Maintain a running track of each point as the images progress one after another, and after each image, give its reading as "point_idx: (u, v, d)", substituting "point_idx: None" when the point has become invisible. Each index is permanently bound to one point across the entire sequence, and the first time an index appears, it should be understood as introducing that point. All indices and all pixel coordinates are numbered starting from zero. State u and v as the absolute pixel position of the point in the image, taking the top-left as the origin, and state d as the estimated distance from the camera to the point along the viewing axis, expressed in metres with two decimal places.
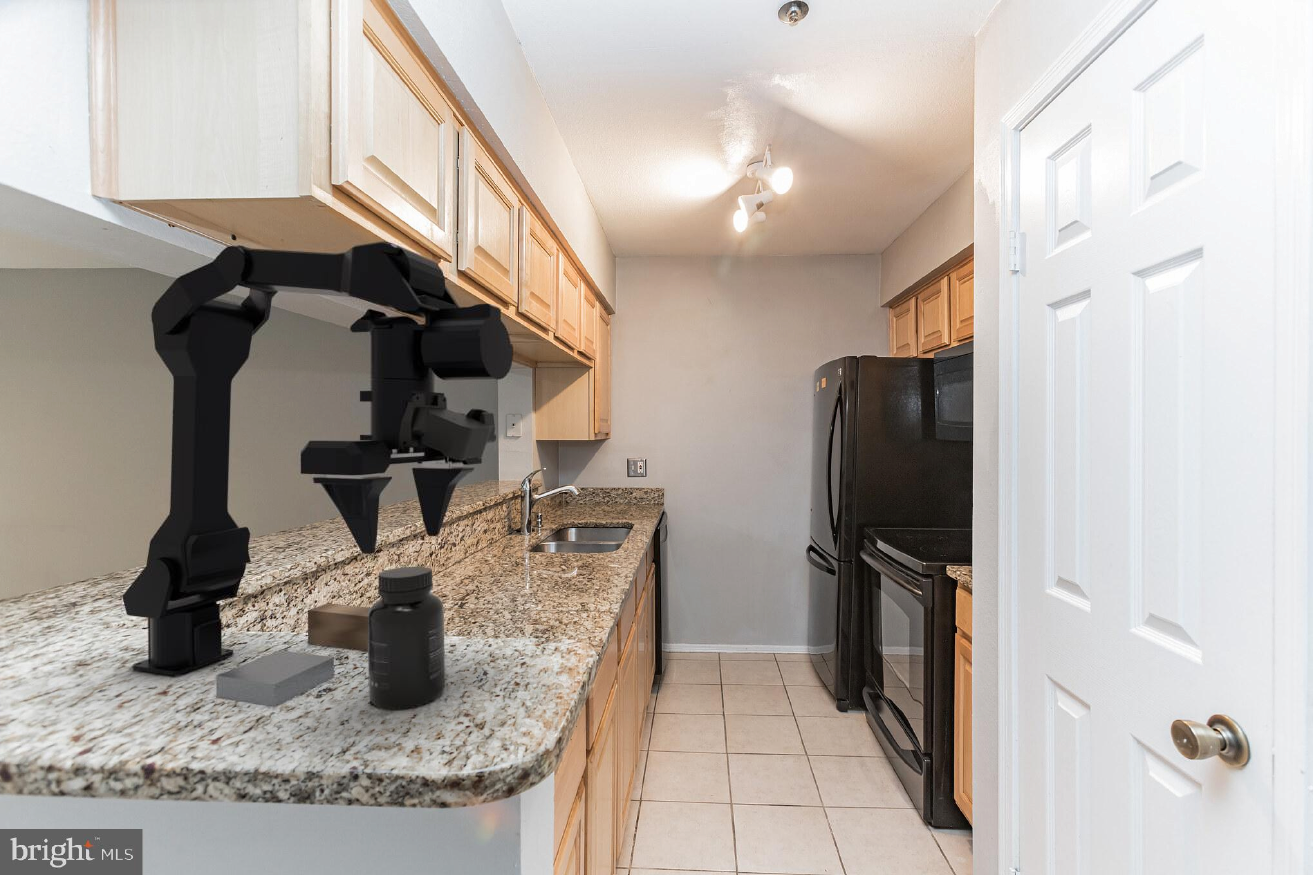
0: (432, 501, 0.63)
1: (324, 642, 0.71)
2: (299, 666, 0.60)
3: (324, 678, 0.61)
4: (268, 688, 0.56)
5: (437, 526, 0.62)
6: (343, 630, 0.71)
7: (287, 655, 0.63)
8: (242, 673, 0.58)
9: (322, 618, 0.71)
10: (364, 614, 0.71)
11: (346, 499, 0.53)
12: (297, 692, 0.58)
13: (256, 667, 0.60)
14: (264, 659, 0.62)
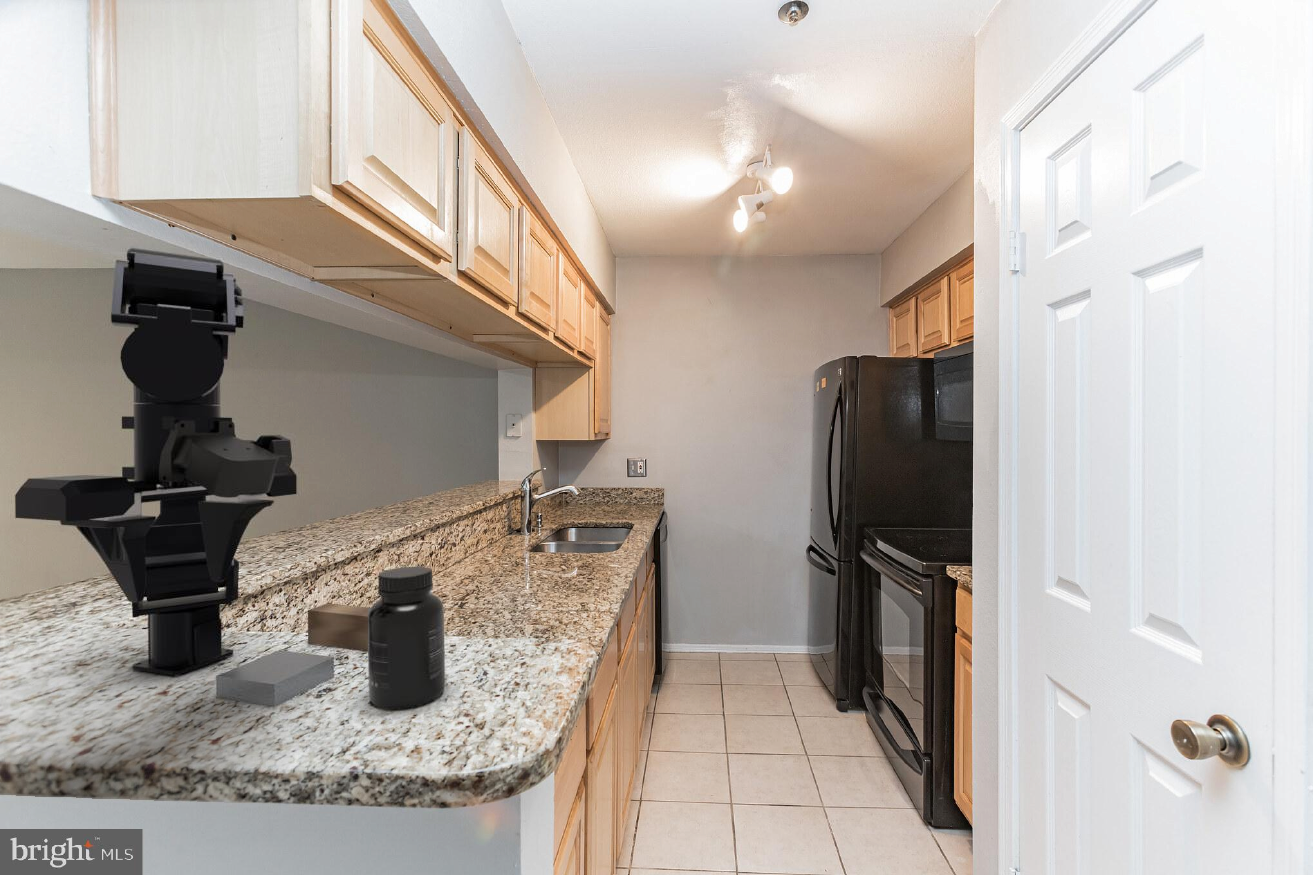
0: (217, 541, 0.54)
1: (324, 642, 0.71)
2: (299, 666, 0.60)
3: (324, 678, 0.61)
4: (268, 688, 0.56)
5: (221, 570, 0.54)
6: (343, 630, 0.71)
7: (287, 655, 0.63)
8: (242, 674, 0.58)
9: (322, 618, 0.71)
10: (364, 614, 0.71)
11: (105, 541, 0.46)
12: (297, 692, 0.58)
13: (256, 667, 0.60)
14: (264, 659, 0.62)
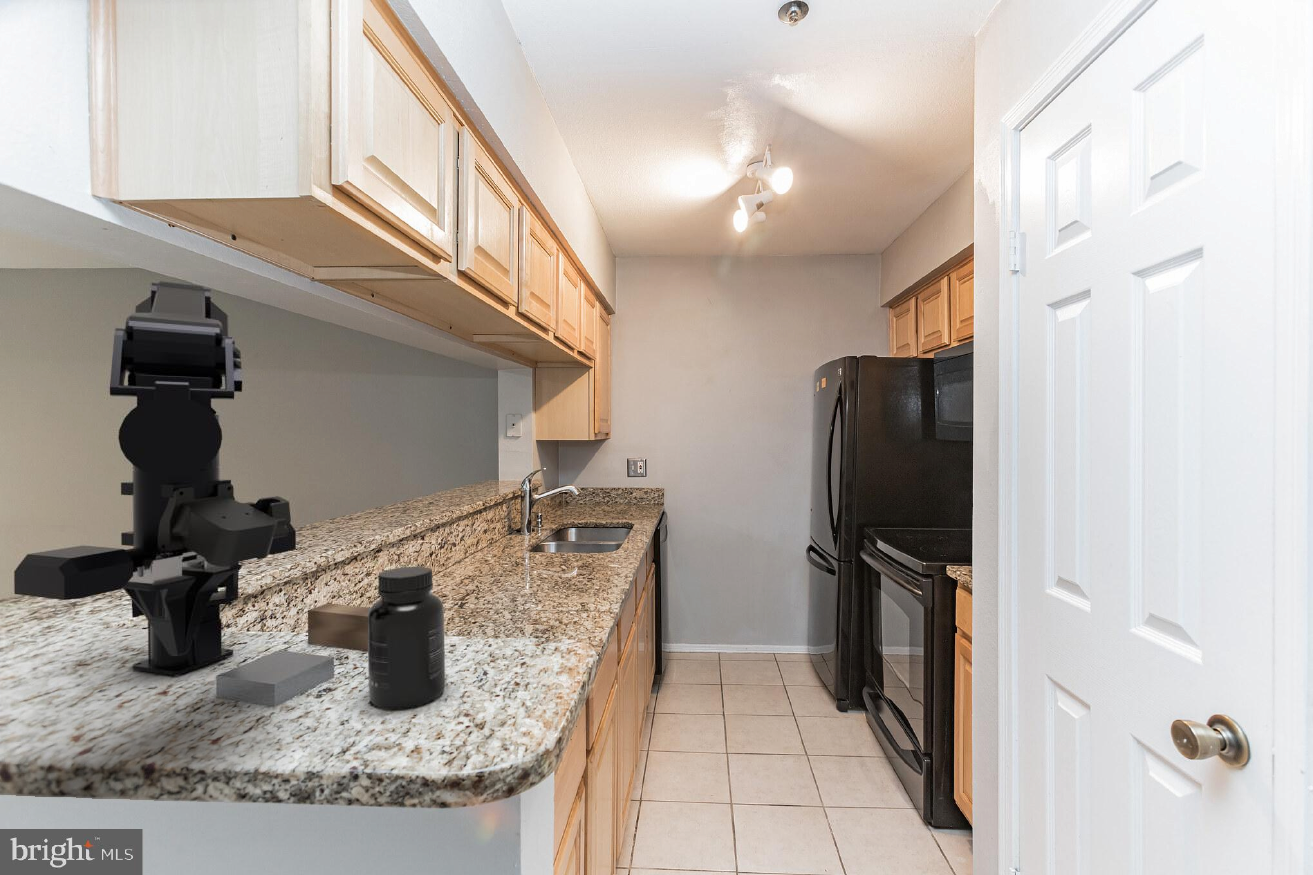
0: None
1: (324, 642, 0.71)
2: (299, 666, 0.60)
3: (324, 678, 0.61)
4: (268, 688, 0.56)
5: (184, 642, 0.51)
6: (343, 630, 0.71)
7: (287, 655, 0.63)
8: (242, 673, 0.58)
9: (322, 618, 0.71)
10: (364, 614, 0.71)
11: (148, 600, 0.50)
12: (297, 692, 0.58)
13: (256, 667, 0.60)
14: (264, 659, 0.62)
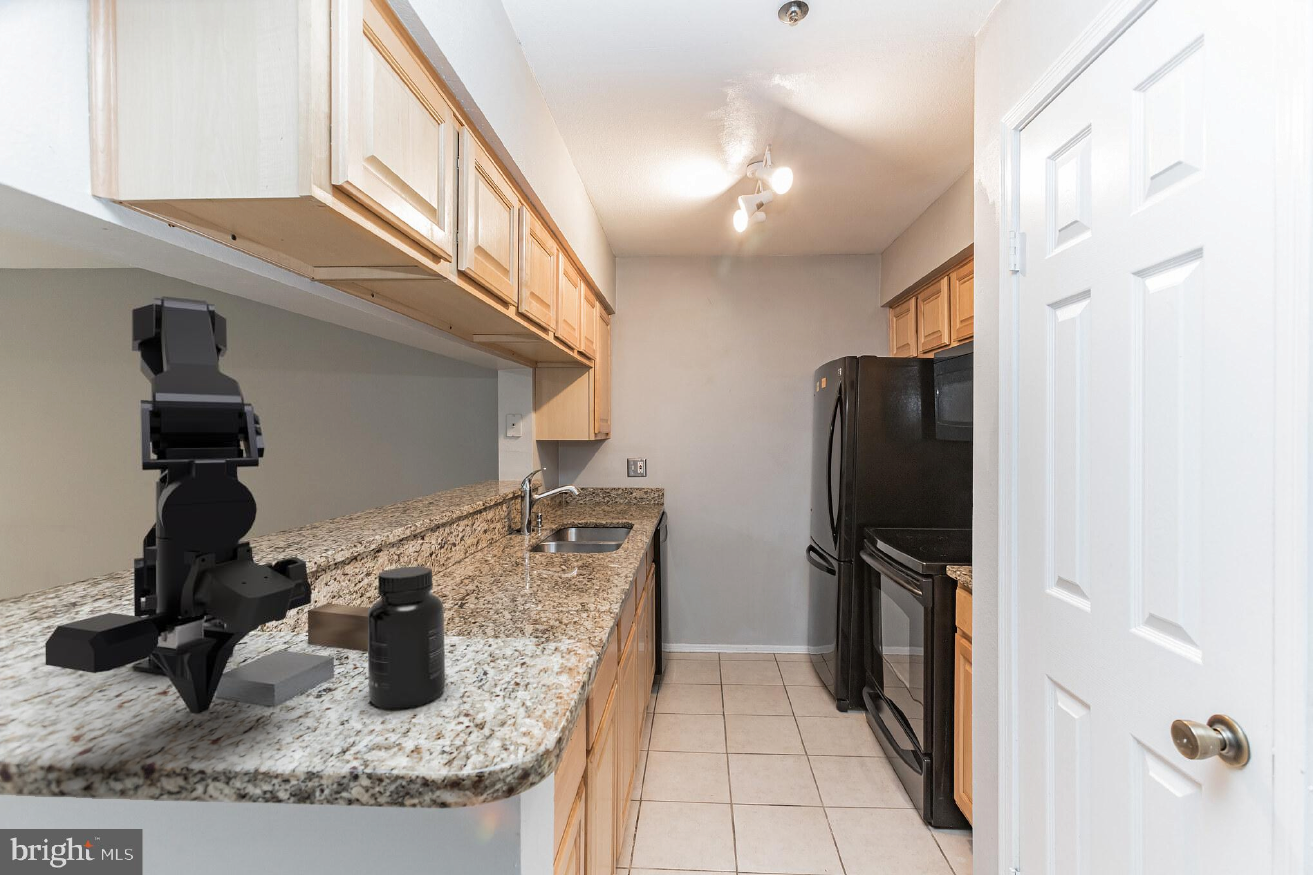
0: None
1: (324, 642, 0.71)
2: (299, 666, 0.60)
3: (324, 678, 0.61)
4: (268, 688, 0.56)
5: (205, 700, 0.53)
6: (343, 630, 0.71)
7: (287, 655, 0.63)
8: (242, 674, 0.58)
9: (322, 618, 0.71)
10: (364, 614, 0.71)
11: (171, 661, 0.51)
12: (297, 692, 0.58)
13: (256, 667, 0.60)
14: (264, 659, 0.62)
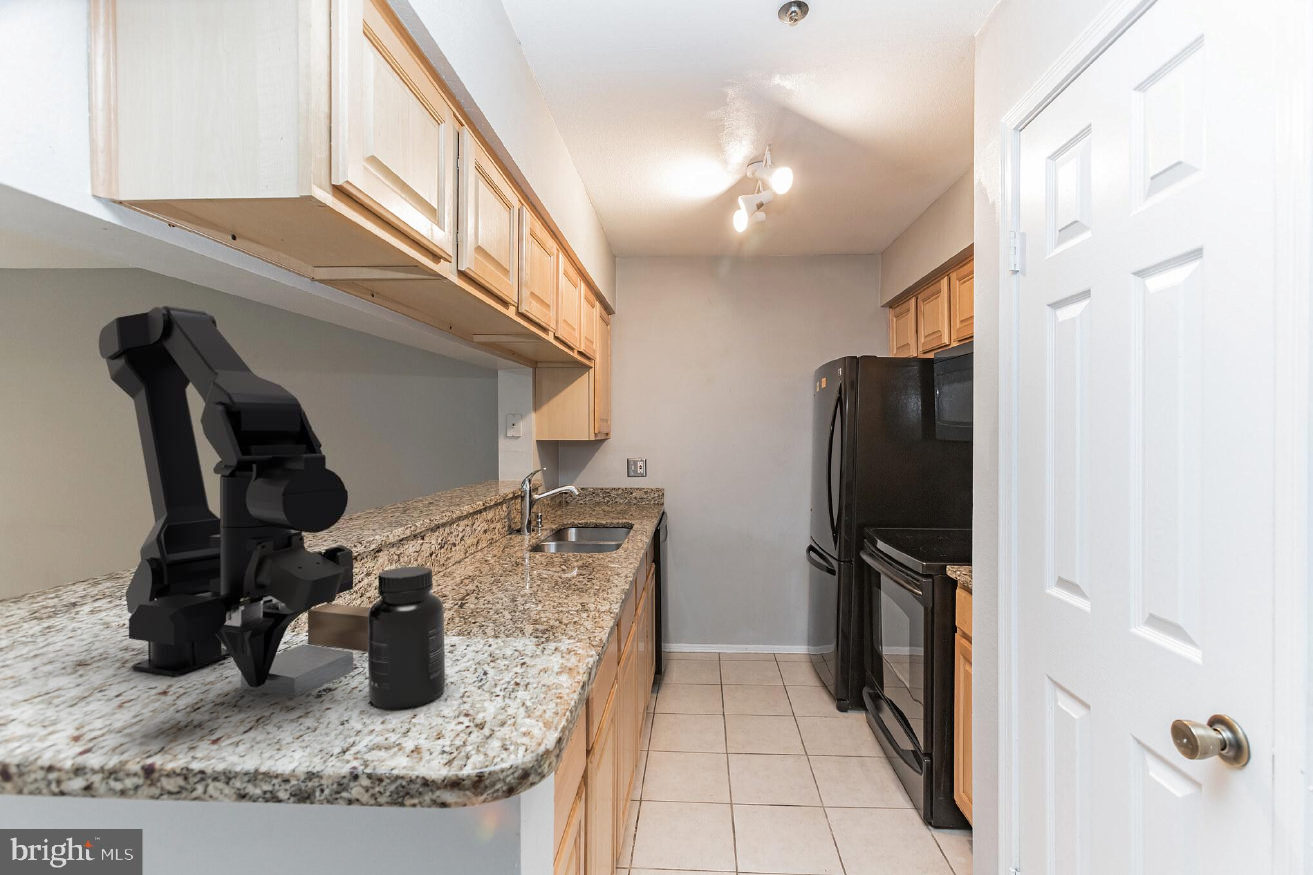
0: None
1: (324, 642, 0.71)
2: (319, 661, 0.62)
3: (343, 672, 0.63)
4: (289, 681, 0.58)
5: (262, 675, 0.58)
6: (343, 630, 0.71)
7: (309, 649, 0.65)
8: None
9: (322, 618, 0.71)
10: (364, 614, 0.71)
11: (232, 638, 0.57)
12: (317, 686, 0.60)
13: (279, 661, 0.62)
14: (287, 653, 0.64)
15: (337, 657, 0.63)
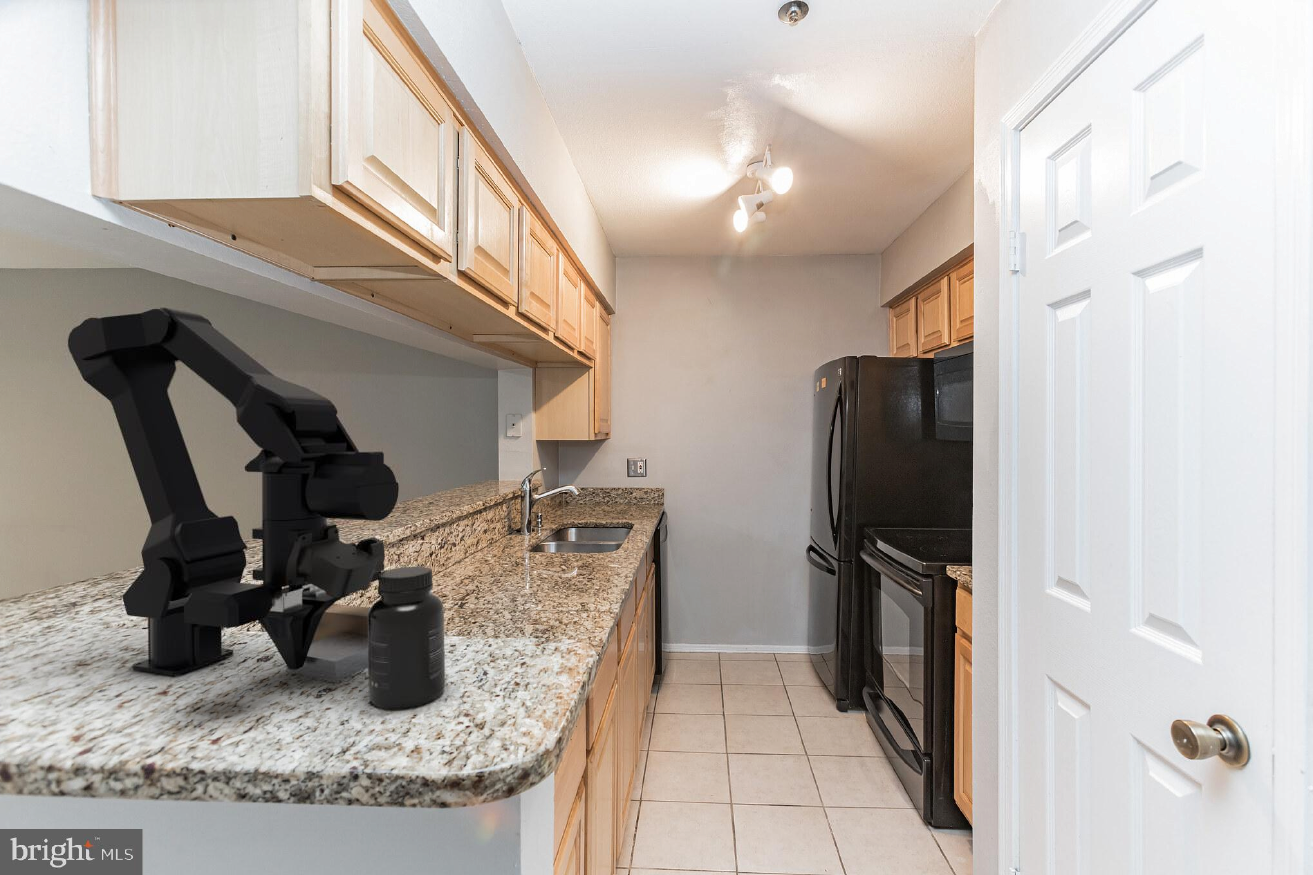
0: None
1: None
2: (358, 647, 0.65)
3: None
4: (330, 664, 0.62)
5: (301, 658, 0.62)
6: (343, 630, 0.71)
7: (349, 636, 0.69)
8: None
9: (322, 618, 0.71)
10: (364, 614, 0.71)
11: (273, 624, 0.61)
12: (355, 670, 0.64)
13: (321, 646, 0.66)
14: (328, 639, 0.68)
15: None
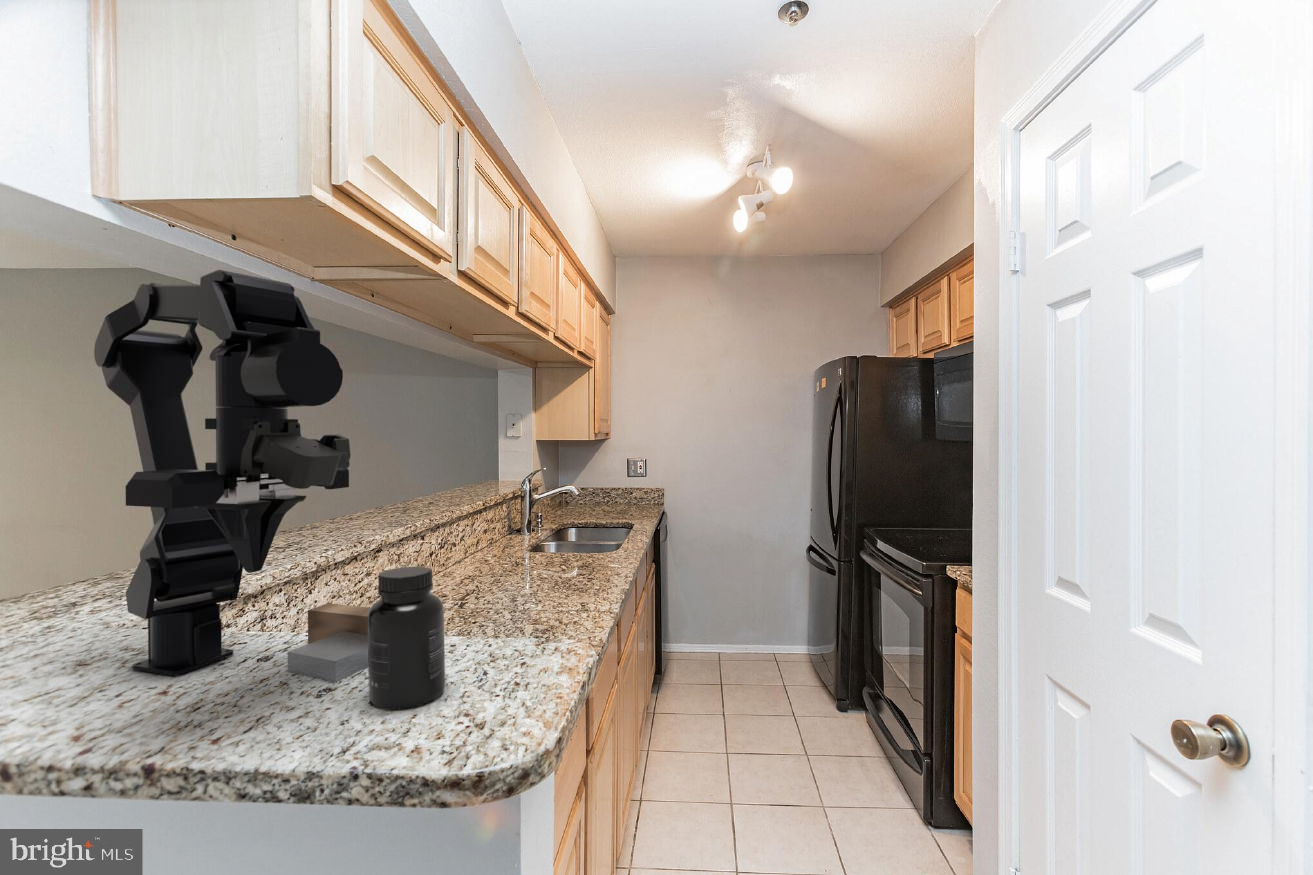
0: None
1: None
2: (358, 646, 0.65)
3: None
4: (331, 664, 0.62)
5: (259, 560, 0.58)
6: (343, 630, 0.71)
7: (349, 636, 0.69)
8: (309, 650, 0.64)
9: (322, 618, 0.71)
10: (364, 614, 0.71)
11: (229, 522, 0.57)
12: (356, 669, 0.64)
13: (322, 645, 0.66)
14: (329, 639, 0.68)
15: None
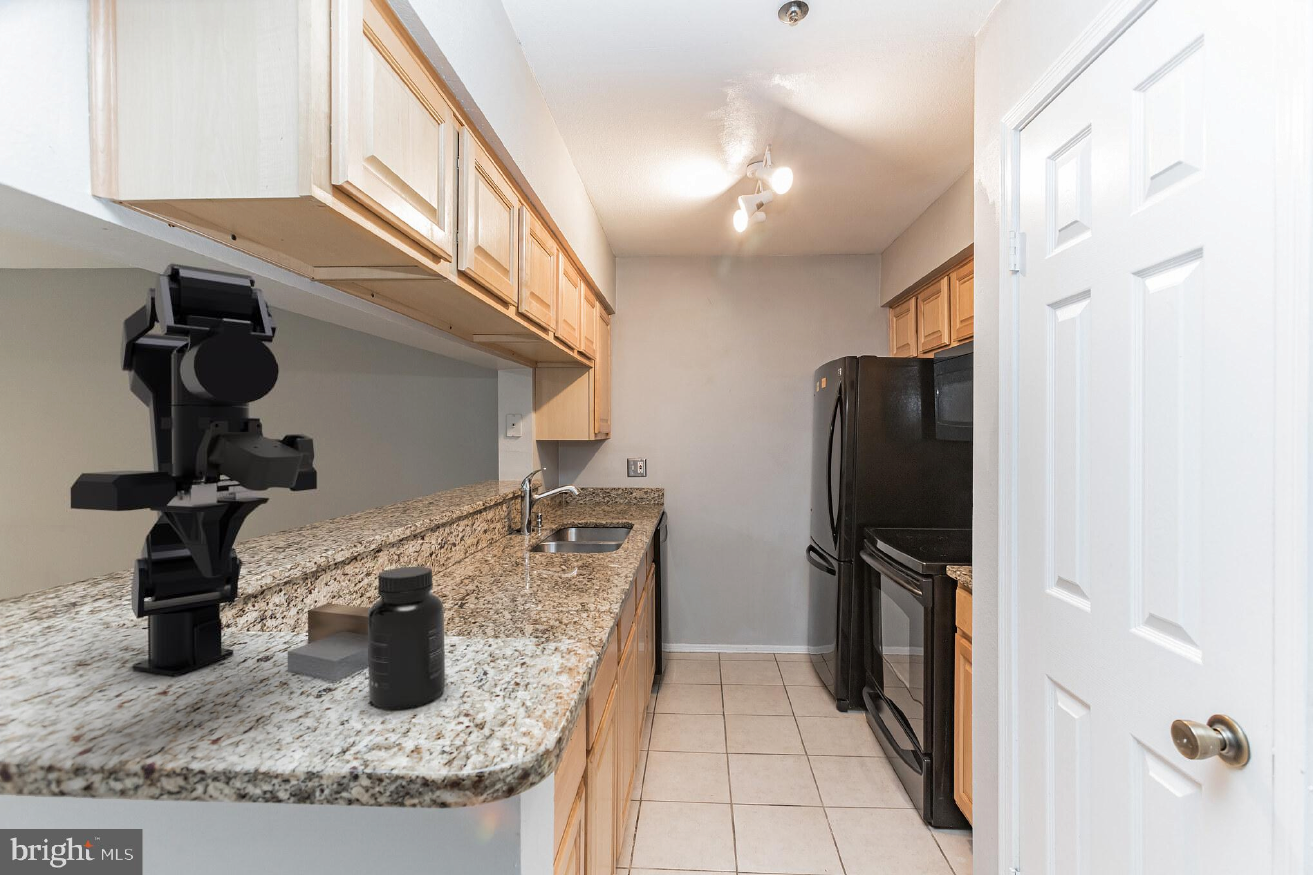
0: None
1: None
2: (358, 646, 0.65)
3: None
4: (331, 664, 0.62)
5: (218, 565, 0.55)
6: (343, 630, 0.71)
7: (349, 636, 0.69)
8: (309, 650, 0.64)
9: (322, 618, 0.71)
10: (364, 614, 0.71)
11: (186, 525, 0.54)
12: (356, 669, 0.64)
13: (322, 645, 0.66)
14: (329, 638, 0.68)
15: None
